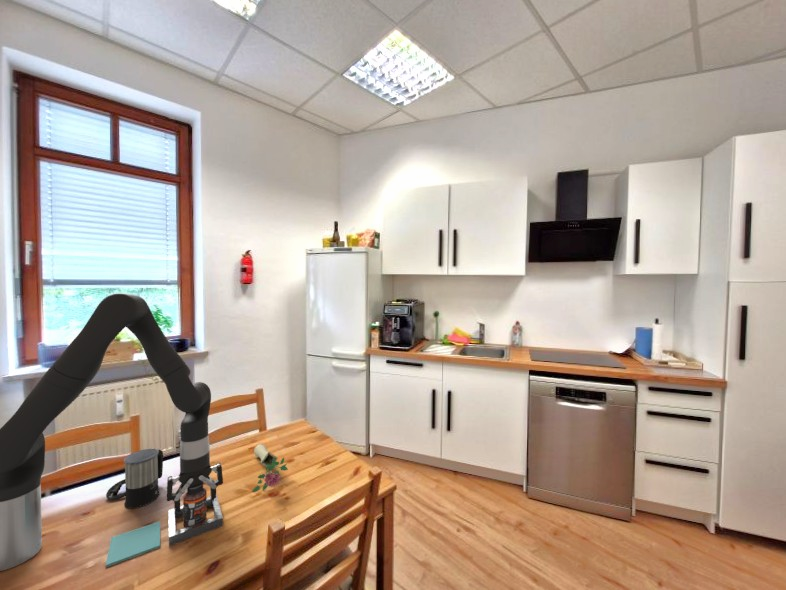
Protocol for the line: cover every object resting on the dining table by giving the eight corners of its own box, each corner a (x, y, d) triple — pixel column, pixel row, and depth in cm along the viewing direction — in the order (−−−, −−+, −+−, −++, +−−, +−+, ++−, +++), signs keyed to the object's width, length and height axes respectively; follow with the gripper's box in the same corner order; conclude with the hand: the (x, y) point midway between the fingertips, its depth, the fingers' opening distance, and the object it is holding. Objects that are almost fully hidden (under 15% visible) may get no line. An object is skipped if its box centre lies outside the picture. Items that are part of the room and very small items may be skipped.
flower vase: (269, 473, 135) (291, 501, 106) (238, 472, 129) (252, 501, 100) (277, 443, 138) (299, 461, 109) (247, 440, 133) (262, 459, 104)
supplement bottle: (195, 531, 93) (195, 492, 93) (178, 528, 94) (177, 489, 94) (211, 516, 99) (211, 480, 99) (194, 514, 100) (194, 477, 100)
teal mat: (105, 567, 81) (105, 565, 81) (111, 539, 90) (111, 537, 90) (159, 547, 87) (159, 545, 87) (160, 523, 96) (160, 521, 96)
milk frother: (154, 505, 104) (154, 459, 104) (92, 518, 98) (91, 469, 98) (166, 480, 117) (166, 440, 117) (111, 490, 111) (111, 448, 111)
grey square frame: (168, 546, 87) (168, 537, 87) (168, 518, 98) (168, 510, 98) (222, 526, 95) (222, 517, 95) (216, 502, 105) (216, 494, 105)
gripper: (165, 465, 89) (167, 522, 89) (223, 449, 97) (224, 502, 98) (165, 453, 95) (166, 507, 95) (220, 440, 103) (221, 490, 104)
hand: (196, 505), depth 97 cm, fingers open, 8 cm apart
